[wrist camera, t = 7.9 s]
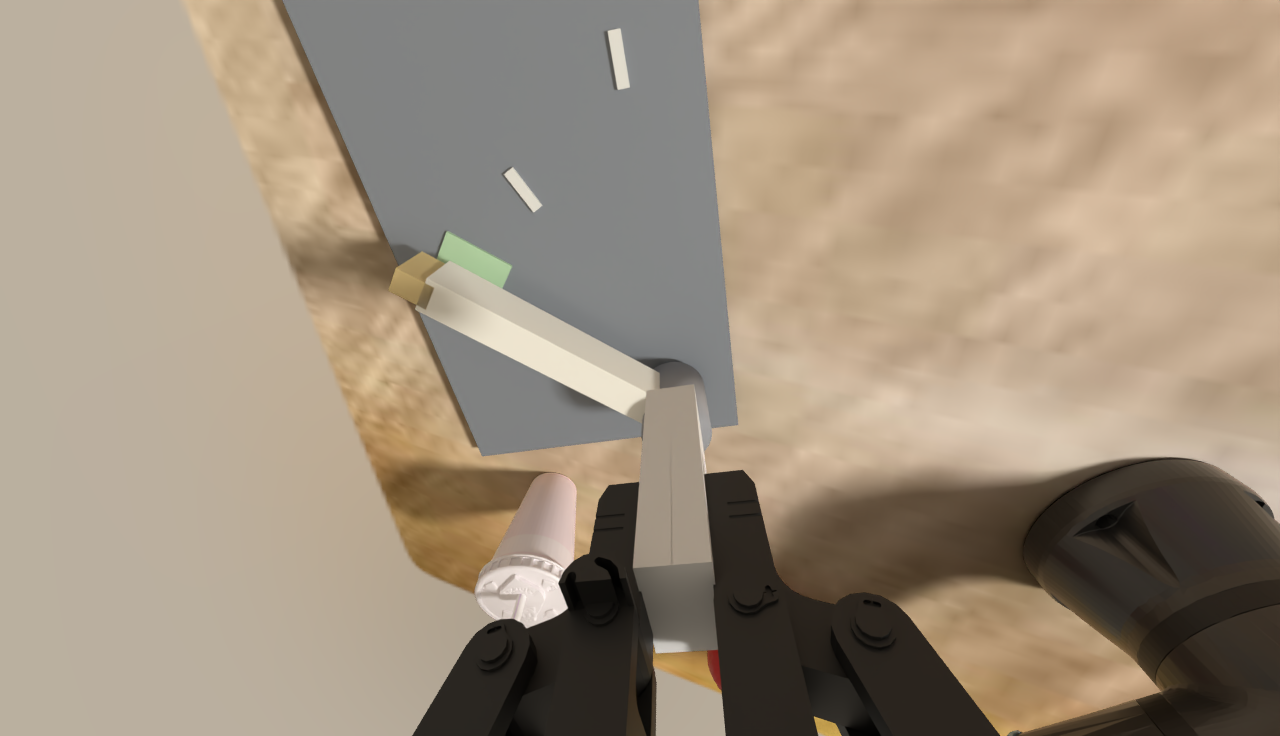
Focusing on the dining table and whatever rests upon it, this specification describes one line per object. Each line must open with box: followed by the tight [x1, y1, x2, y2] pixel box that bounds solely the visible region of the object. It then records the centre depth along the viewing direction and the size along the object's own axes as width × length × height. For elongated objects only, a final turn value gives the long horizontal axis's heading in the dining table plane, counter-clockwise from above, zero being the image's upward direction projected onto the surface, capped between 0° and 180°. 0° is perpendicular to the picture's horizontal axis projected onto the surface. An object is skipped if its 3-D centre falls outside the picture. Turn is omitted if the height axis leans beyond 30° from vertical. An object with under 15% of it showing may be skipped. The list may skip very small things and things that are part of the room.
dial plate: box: [282, 0, 738, 456], centre depth 28 cm, size 28×19×1 cm
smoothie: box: [475, 473, 577, 628], centre depth 32 cm, size 6×6×14 cm
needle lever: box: [388, 252, 712, 451], centre depth 27 cm, size 19×4×5 cm, turn 59°
